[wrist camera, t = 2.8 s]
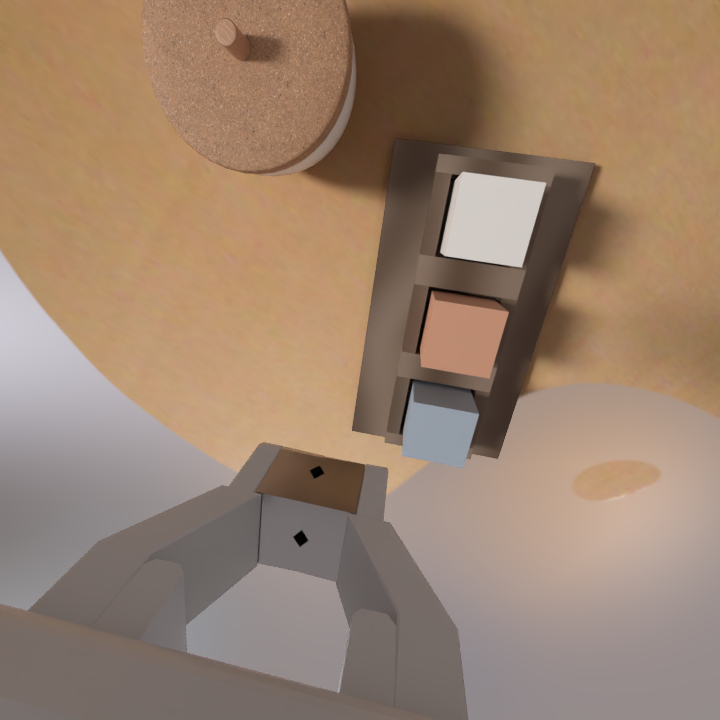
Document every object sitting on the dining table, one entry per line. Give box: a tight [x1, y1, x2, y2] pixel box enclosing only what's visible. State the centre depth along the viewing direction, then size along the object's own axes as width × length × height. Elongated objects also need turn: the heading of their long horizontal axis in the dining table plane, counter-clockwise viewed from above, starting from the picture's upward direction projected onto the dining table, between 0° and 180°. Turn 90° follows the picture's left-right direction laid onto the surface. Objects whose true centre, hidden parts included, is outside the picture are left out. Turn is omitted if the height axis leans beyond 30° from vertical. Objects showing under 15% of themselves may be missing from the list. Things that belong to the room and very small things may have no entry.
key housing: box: [352, 138, 595, 459], centre depth 27 cm, size 13×23×3 cm, turn 172°
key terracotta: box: [420, 290, 509, 379], centre depth 24 cm, size 4×4×4 cm
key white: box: [440, 172, 546, 268], centre depth 22 cm, size 4×4×4 cm
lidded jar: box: [142, 0, 356, 176], centre depth 20 cm, size 11×11×9 cm
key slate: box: [402, 379, 479, 468], centre depth 27 cm, size 4×4×4 cm
